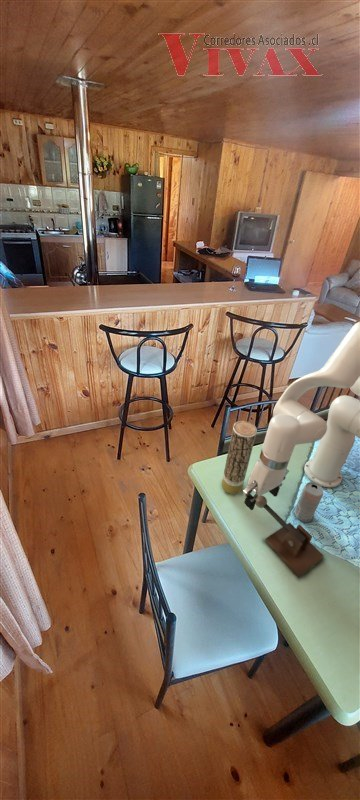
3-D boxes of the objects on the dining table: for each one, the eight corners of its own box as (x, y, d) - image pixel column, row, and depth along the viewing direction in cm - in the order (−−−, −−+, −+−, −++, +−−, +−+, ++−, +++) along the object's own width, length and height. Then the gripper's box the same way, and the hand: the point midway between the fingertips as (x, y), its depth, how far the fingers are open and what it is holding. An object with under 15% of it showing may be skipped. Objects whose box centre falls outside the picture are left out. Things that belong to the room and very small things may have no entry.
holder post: (251, 503, 99) (253, 495, 97) (259, 498, 101) (262, 491, 99) (296, 549, 88) (299, 541, 86) (304, 543, 89) (308, 535, 87)
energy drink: (312, 511, 103) (324, 485, 96) (310, 525, 99) (323, 498, 92) (295, 505, 104) (306, 479, 98) (292, 517, 100) (303, 491, 93)
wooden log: (241, 496, 106) (256, 437, 92) (220, 492, 107) (232, 433, 92) (242, 481, 111) (257, 423, 97) (222, 477, 112) (234, 419, 98)
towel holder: (264, 541, 93) (270, 525, 89) (288, 525, 98) (294, 510, 94) (298, 578, 85) (305, 562, 81) (322, 558, 90) (330, 543, 86)
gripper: (285, 439, 94) (271, 480, 104) (241, 459, 86) (230, 502, 95) (306, 455, 89) (290, 497, 99) (261, 478, 81) (248, 522, 90)
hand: (260, 499), depth 97 cm, fingers open, 9 cm apart
